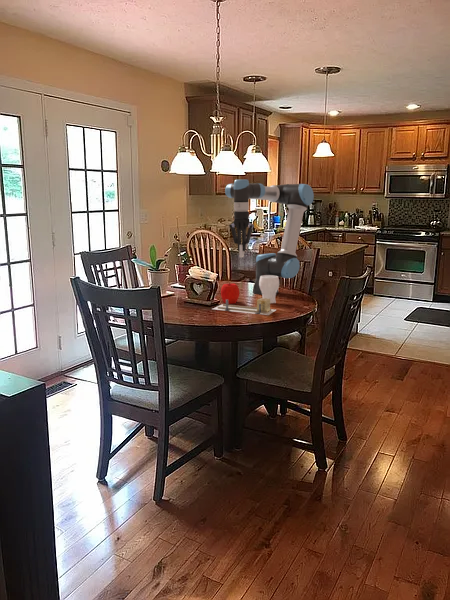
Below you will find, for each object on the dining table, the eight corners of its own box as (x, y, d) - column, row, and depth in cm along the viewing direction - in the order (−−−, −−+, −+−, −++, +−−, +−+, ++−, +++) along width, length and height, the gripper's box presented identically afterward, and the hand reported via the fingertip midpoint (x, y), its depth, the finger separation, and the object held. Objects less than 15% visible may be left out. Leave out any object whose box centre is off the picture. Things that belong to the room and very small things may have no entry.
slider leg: (260, 309, 249) (260, 298, 248) (270, 310, 247) (270, 298, 246) (254, 313, 242) (254, 301, 241) (264, 314, 240) (264, 302, 239)
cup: (277, 307, 262) (278, 278, 259) (257, 306, 264) (257, 277, 261) (279, 302, 272) (280, 275, 269) (260, 302, 274) (260, 274, 271)
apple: (234, 302, 273) (234, 280, 271) (242, 306, 264) (243, 283, 262) (217, 304, 269) (217, 281, 266) (225, 308, 260) (225, 284, 258)
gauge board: (221, 307, 262) (221, 294, 261) (276, 312, 250) (277, 299, 249) (211, 312, 251) (211, 298, 250) (268, 318, 239) (268, 304, 238)
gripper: (226, 211, 254) (227, 257, 260) (250, 211, 249) (251, 258, 254) (232, 210, 261) (232, 255, 266) (256, 210, 256) (256, 256, 261)
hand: (241, 257), depth 260 cm, fingers closed
